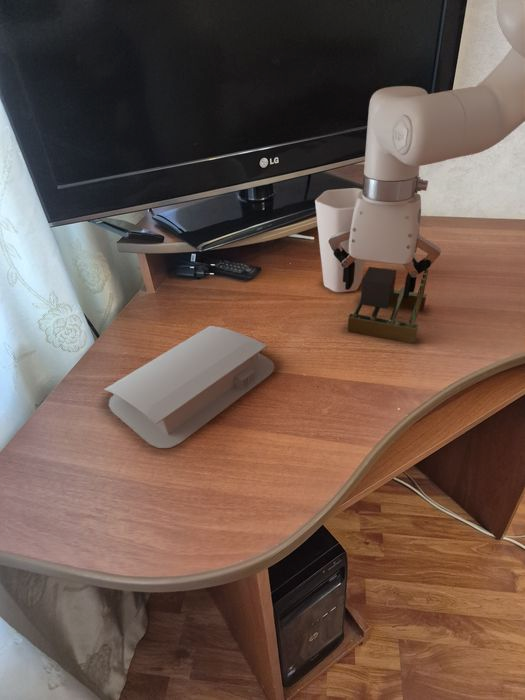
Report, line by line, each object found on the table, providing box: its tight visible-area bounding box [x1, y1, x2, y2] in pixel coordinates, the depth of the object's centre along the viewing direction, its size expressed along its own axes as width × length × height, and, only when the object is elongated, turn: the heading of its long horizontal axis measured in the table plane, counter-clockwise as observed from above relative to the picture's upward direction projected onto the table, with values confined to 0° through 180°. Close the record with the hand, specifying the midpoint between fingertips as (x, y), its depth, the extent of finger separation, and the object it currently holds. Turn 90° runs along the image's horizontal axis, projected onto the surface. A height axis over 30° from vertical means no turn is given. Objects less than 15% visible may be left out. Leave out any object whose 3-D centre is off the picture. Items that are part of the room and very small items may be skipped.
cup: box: [314, 187, 367, 293], centre depth 82 cm, size 11×10×17 cm
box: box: [360, 266, 397, 309], centre depth 73 cm, size 5×5×5 cm
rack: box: [347, 268, 429, 345], centre depth 74 cm, size 11×11×9 cm
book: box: [104, 325, 275, 449], centre depth 65 cm, size 15×23×4 cm, turn 137°
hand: (377, 290), depth 74 cm, fingers open, 9 cm apart
